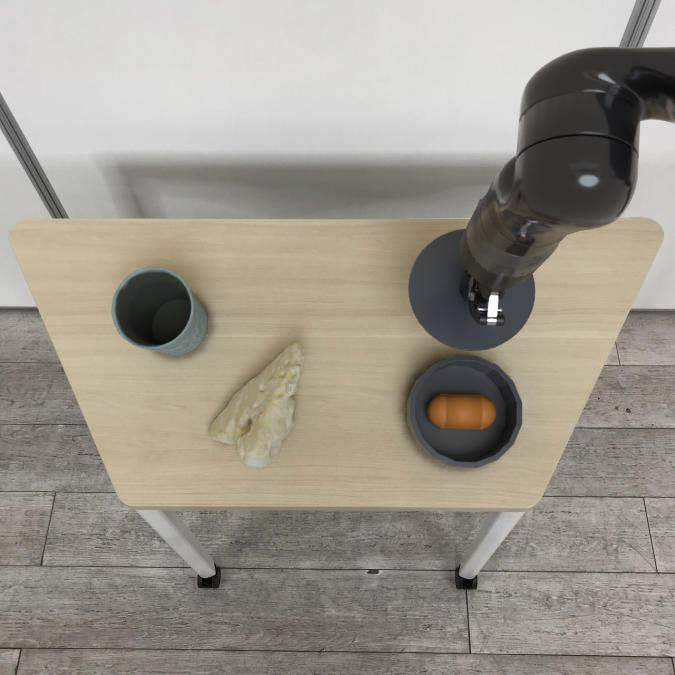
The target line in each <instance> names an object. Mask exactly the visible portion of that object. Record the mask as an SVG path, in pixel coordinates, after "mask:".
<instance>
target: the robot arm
mask: <svg viewBox="0 0 675 675" xmlns="http://www.w3.org/2000/svg"><path fill="white" fill-rule="evenodd" d="M518 115H519V116H518V128H517V138H516V151H515V155H513V157H511V158H510V159H508V160H507V161H506V163H504V165H503V166H502V167H501V168H500V170H498V171H499V172H497V174H496V175H495V177H494V178H493V181H492V182H491V184H490V186H489V189H488V190H487V192H486V194H485V195H483V197H482V198H479V200H478V202H477V205H476V207H475V209H474V211H473V213H472V215H471V217H470V219H469V221H468V223H467V225H466V227H465V228H464V229H465V231H464V233H463V235H462V238H461V242H460V256H461V260H462V263H463V265H464V267H465V273H467V272H468V273H469V274H470V275H471V277H470V279H469V292H468V293H467V294H466V296H465V303H467V304H468V307H470V308H469V312H470V315H471V317H472V318H473V319H474V320H475V322H476V323H477V324H478V325H487V326H504V323H505V316H504V314H503V313H502V308H498V300H501V299H503V298H504V297H505V295H506V291H507V289H509V288H512V287H514V286H516V285H519V284H520V283H522V282H524V281H525V280H526V279H528V278H529V277H530V276H531V275H532V274H533V275H534V273H535V272H536V271H537V270H538V269H539V268H540V267H541V266H542V265H543V264H544V263H545V262H546V261H547V260H548V259H549V258H550V257H551V256H552V255H553V253H554V252H556V250H557V248H558V247H559V245H560V244H561V242H562V241H563V240H564V239H565V238H566V237H567V236H569V235H572V234H575V233H578V232H582V231H591V230H595V229H599V228H603V227H606V226H608V225H611V224H612V223H614V222H616V221H617V220H618V219H619V218H620V217H621V216H623V214H624V213H625V212H626V210H627V209H628V207H629V205H630V203H631V202H632V199H633V197H634V195H635V192H636V189H637V183H638V176H639V160H640V159H639V157H640V136H641V122H645V121H649V120H650V121H651V120H652V121H653V120H655V121H661V122H667V123H671V124H674V125H675V46H658V47H657V46H654V47H653V46H652V47H651V46H648V47H647V46H646V47H645V46H642V47H641V46H593V47H586V48H580V49H575V50H572V51H569V52H566V53H564V54H562V55H561V54H560V55H559V56H557V57H555V58H553V59H551V60H550V61H549V62H548V63H545V64H544V65H543V66H541V67H540V68H539V69H538V70H536V72H535V73H533V75H532V76H531V77H530V78H529V80H528V81H527V82H526V84H525V86H524V88H523V91H522V94H521V98H520V105H519V114H518Z"/></svg>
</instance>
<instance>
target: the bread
mask: <svg viewBox="0 0 675 675" xmlns="http://www.w3.org/2000/svg"><path fill="white" fill-rule="evenodd" d="M427 415H428V418H429V420H430V421H431V423H432V424H434V425H435V426H437V427H438V428H439V429H469V430H482V429H485V428H487V427H489V426H490V425H492V423H493V422H494V420H495V418H496V408H495V405H494V404H493V402H492V401H491V400H490V399H488V398H487V397H484V396H483V395H456V394H440V395H437V396H435V397H434V398H433V399H431V401H430V402H429V404H428V406H427Z"/></svg>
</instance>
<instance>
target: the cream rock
mask: <svg viewBox="0 0 675 675" xmlns="http://www.w3.org/2000/svg"><path fill="white" fill-rule="evenodd" d="M304 352H305V349H304V348H303V345H302V344H301V342H299V341H295V342H293V343H292V344H289V345H288V346H286V347H285V348H284V350H283V351H282V352H281V353H280V354H278V356H276V358H275V359H274V360H272V362H270V363H269V364H268V365H267V366H266V367H265V368H263V370H261V372H260V373H259V375H257V376H255V377H253V378H252V379H250V380H249V381H248V382H247V383H246V384H244V386H242V387H241V388H240V389H239V390H238V391H237V392H235V394H234V395H233V396H232V397H231V399H230V400H229V403H228V404H227V406H226V407H225V408H223V410H222V411H221V412H220V413H219V414H218V415H217V417H216V418H215V419H214V421H213V422H212V423H211V425H210V427H209V431H208V434H207V436H208V437H209V438H210V439H212V440H213V441H216V442H219V443H223V444H226V445H229V446H230V445H235V448H236V453H237V457H238V459H239V460H240V462H241V463H242V465H244V466H246V467H248V468H251V469H259V468H261V469H263V468H265V467H267V466H270V465H271V464H272V463H273V462H274V461H275V460H276V459H277V458H278V457H279V455H280V453H281V448H282V442H283V441H284V440H285V438H286V437H287V436H288V435H289V434H290V432H291V431H292V428H294V426H295V425H296V421H295V420H294V418H293V417H294V412H295V410H296V405H297V404H296V400H295V399H294V398H293V397H292V396H293V395H295V394H296V393H297V391H298V390H299V387H300V382H301V381H300V380H301V377H302V375H303V373H304V370H305V363H306V355H305V353H304Z"/></svg>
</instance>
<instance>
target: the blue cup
mask: <svg viewBox="0 0 675 675" xmlns="http://www.w3.org/2000/svg"><path fill="white" fill-rule="evenodd" d="M110 312H111V318H112V319H111V320H112V321H113V325H114V327H115V329H116V331H117V333H118V334H119V335H120V336H121V337H122V339H124V340H125V341H126V342H127V343H128V344H131V345H132V346H134V347H137V348H139V349H144V350H150V351H155V352H158V353H164V354H167V355H172V356H180V355H185V354H188V353H190V352H191V351H194V350H196V348H198V347H199V346H200V345H201V343H202V342H203V341H204V339H205V338H206V335H207V333H208V329H209V328H208V327H209V320H208V316H207V313H206V310H205V308H204V307H203V306H202V304H201V303H200V301H199V300H198V298H197V297H196V296H195V295H194V293H193V291H192V289H191V288H190V286H189V284H188V283H187V282H186V281H185V280H184V279H183V278H182V277H181V276H180V275H179V274H178V273H176V272H175V271H173V270H170V269H168V268H165V267H160V266H148V267H144V268H141V269H137V270H135V271H134V272H132V273H131V274H129V275H128V276H126V277H125V278H124V279H123V280H122V281H121V282H120V284H119V285H118V286H117V288H116V290H115V292H114V295H113V297H112V301H111V310H110Z"/></svg>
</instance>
